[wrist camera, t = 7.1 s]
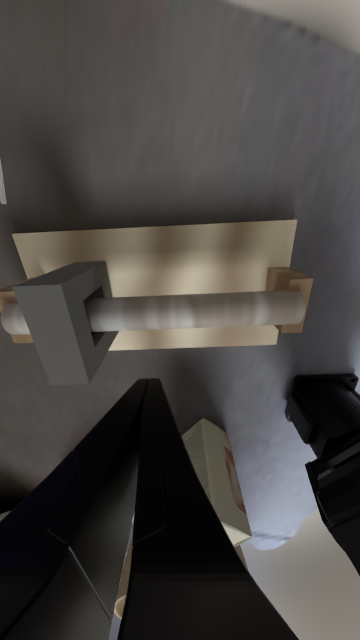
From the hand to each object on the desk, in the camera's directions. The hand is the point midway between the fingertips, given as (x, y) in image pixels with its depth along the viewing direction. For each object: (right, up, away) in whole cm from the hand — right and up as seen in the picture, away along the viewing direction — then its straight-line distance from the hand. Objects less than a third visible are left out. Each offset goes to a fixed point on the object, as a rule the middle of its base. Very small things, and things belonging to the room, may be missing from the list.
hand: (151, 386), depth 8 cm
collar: (-6, +5, +11) cm, 13 cm away
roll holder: (-1, +5, +11) cm, 12 cm away
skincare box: (+4, -12, +19) cm, 23 cm away
